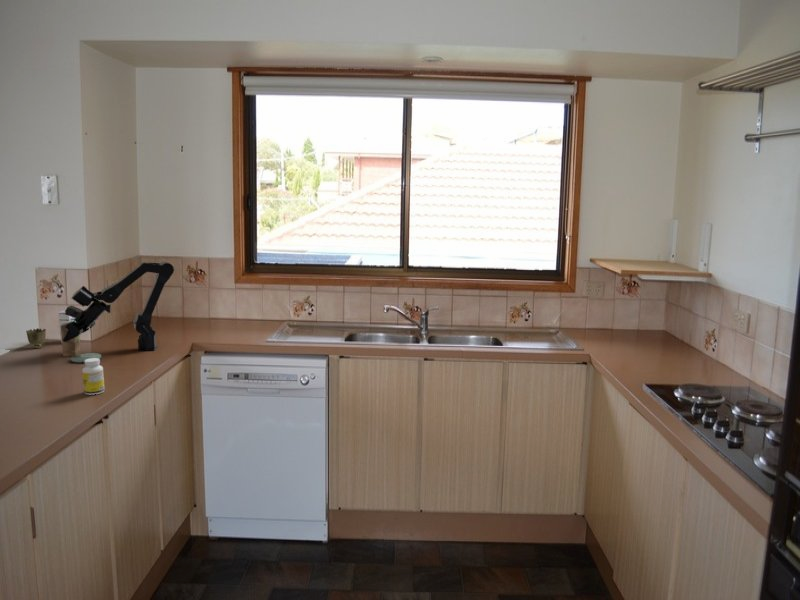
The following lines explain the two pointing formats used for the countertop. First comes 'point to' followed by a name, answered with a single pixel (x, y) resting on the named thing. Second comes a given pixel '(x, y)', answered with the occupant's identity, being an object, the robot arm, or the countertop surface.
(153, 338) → the robot arm
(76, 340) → the walnut block
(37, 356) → the countertop surface
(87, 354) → the dish
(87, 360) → the pill bottle
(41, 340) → the cup
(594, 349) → the countertop surface
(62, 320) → the syrup box
